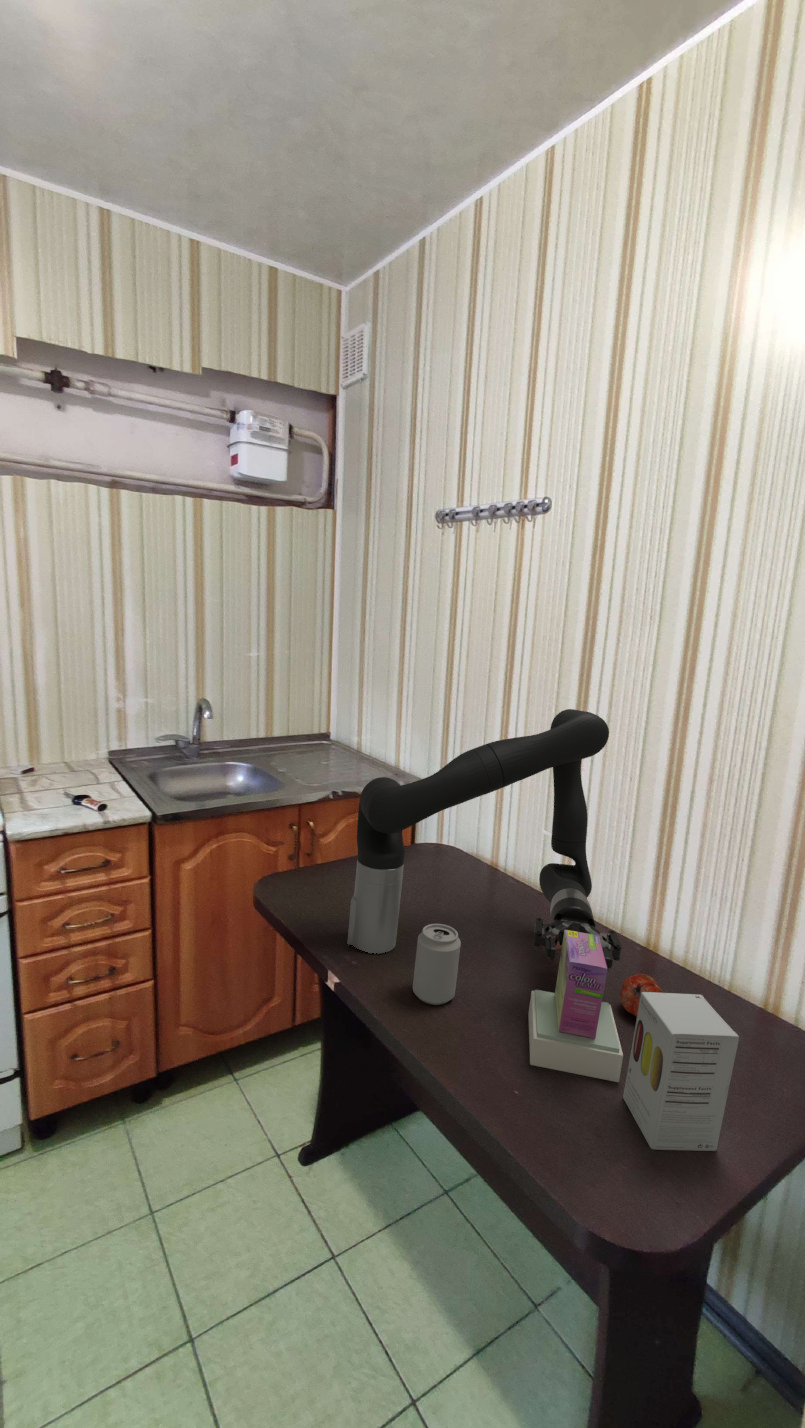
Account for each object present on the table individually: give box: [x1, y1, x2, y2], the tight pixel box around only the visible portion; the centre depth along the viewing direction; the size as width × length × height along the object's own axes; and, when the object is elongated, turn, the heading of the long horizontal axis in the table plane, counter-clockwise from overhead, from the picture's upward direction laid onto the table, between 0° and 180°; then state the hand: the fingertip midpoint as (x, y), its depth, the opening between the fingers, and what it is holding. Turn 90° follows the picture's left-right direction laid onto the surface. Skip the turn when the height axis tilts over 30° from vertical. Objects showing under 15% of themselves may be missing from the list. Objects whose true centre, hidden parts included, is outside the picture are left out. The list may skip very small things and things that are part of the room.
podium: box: [527, 989, 624, 1083], centre depth 103 cm, size 13×13×5 cm
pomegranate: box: [619, 973, 665, 1018], centre depth 114 cm, size 7×7×10 cm
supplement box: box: [622, 992, 740, 1152], centre depth 87 cm, size 10×9×17 cm
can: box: [412, 923, 462, 1006], centre depth 113 cm, size 8×8×12 cm
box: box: [554, 930, 608, 1039], centre depth 102 cm, size 10×6×12 cm, turn 170°
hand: (579, 960), depth 104 cm, fingers open, 8 cm apart
